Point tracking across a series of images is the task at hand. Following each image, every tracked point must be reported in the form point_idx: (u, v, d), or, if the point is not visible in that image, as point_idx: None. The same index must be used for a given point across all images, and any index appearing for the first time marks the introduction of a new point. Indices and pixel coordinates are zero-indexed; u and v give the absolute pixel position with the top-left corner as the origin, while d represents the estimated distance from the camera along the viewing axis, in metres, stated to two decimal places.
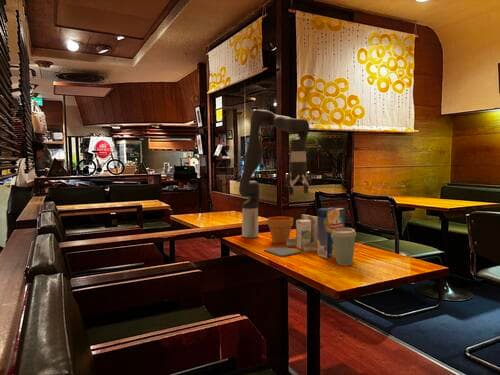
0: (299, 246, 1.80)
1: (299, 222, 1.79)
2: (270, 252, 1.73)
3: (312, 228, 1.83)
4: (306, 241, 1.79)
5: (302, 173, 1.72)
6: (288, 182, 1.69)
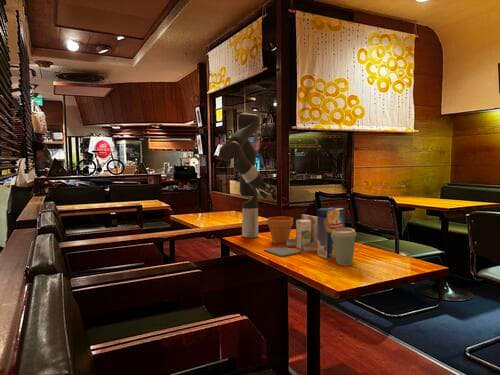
0: (299, 246, 1.80)
1: (299, 222, 1.79)
2: (270, 252, 1.73)
3: (312, 228, 1.83)
4: (306, 241, 1.79)
5: (260, 186, 1.70)
6: (254, 190, 1.78)
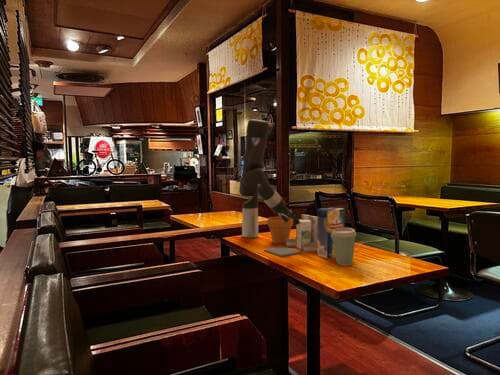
0: (299, 246, 1.80)
1: None
2: (270, 252, 1.73)
3: (312, 228, 1.83)
4: (306, 241, 1.79)
5: (282, 211, 1.71)
6: (276, 214, 1.80)
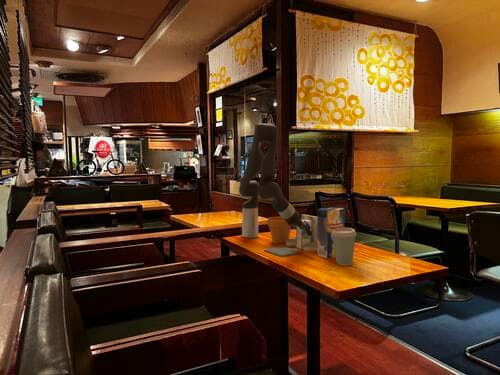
0: (299, 246, 1.80)
1: None
2: (270, 252, 1.73)
3: (312, 228, 1.83)
4: (306, 241, 1.79)
5: (295, 222, 1.76)
6: (290, 225, 1.84)
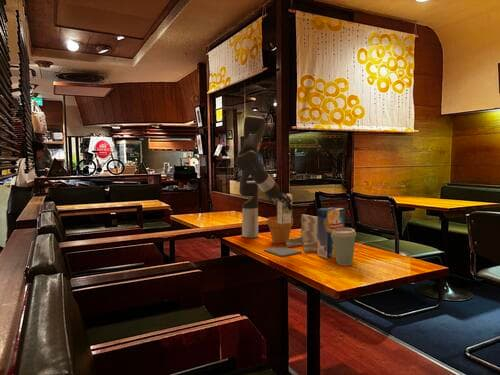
0: (280, 221, 1.72)
1: None
2: (270, 252, 1.73)
3: (312, 228, 1.83)
4: (287, 216, 1.71)
5: (276, 196, 1.68)
6: (270, 200, 1.76)
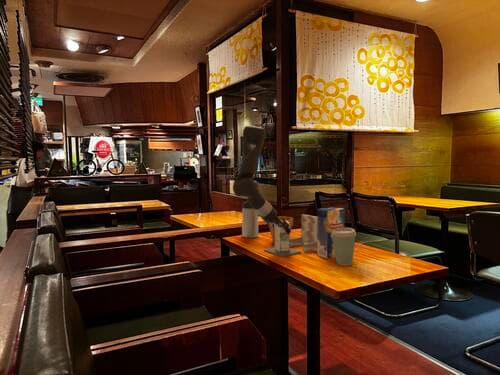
0: (278, 249, 1.72)
1: None
2: (270, 252, 1.73)
3: (312, 228, 1.83)
4: (285, 243, 1.71)
5: (273, 220, 1.68)
6: (267, 223, 1.77)
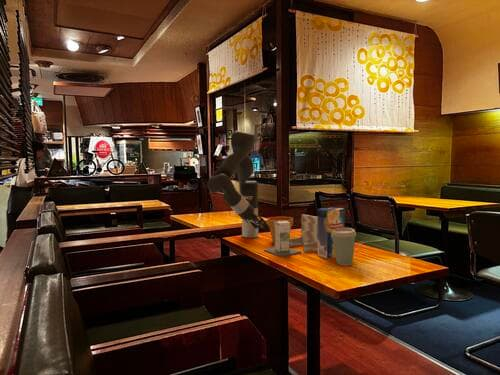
0: (278, 249, 1.72)
1: (277, 223, 1.71)
2: (270, 252, 1.73)
3: (312, 228, 1.83)
4: (285, 243, 1.71)
5: (250, 218, 1.63)
6: (245, 220, 1.71)
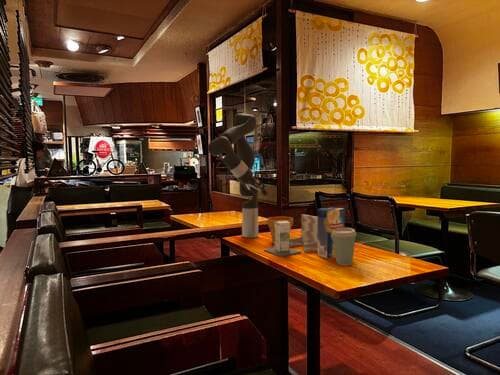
0: (278, 249, 1.72)
1: (277, 223, 1.71)
2: (270, 252, 1.73)
3: (312, 228, 1.83)
4: (285, 243, 1.71)
5: (249, 182, 1.69)
6: (245, 186, 1.78)
